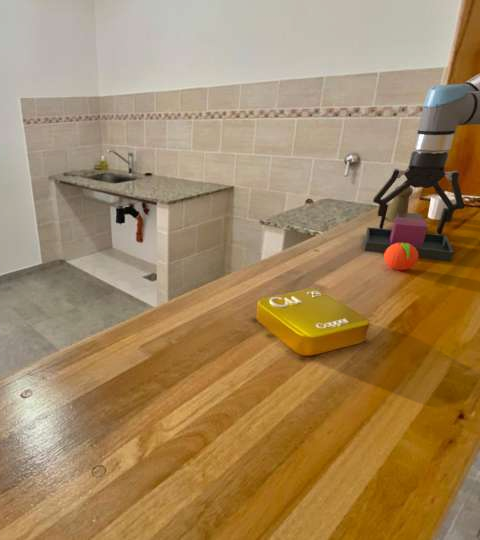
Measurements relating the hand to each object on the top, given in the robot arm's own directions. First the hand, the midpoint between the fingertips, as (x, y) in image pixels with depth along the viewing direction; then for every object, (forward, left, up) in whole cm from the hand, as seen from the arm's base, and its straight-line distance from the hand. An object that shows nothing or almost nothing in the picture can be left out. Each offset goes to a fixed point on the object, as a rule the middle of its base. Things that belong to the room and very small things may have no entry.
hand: (409, 230), depth 107 cm
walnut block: (-1, -16, -5) cm, 17 cm away
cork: (+1, -30, -5) cm, 30 cm away
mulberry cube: (0, 0, -5) cm, 5 cm away
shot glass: (-11, -35, -5) cm, 37 cm away
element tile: (+18, +56, -5) cm, 59 cm away
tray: (0, 0, -5) cm, 5 cm away
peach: (+2, +18, -5) cm, 19 cm away
